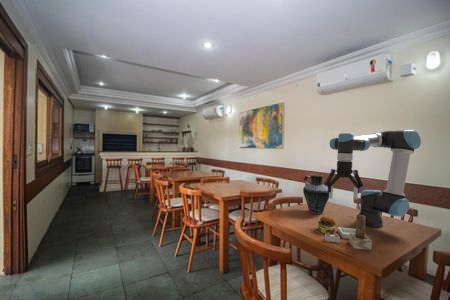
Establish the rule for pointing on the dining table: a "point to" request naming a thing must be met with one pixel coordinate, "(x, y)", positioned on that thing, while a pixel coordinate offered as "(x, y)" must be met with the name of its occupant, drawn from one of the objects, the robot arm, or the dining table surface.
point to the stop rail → (332, 237)
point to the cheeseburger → (326, 225)
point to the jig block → (360, 242)
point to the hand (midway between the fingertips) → (342, 198)
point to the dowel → (360, 226)
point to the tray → (346, 232)
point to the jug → (315, 193)
